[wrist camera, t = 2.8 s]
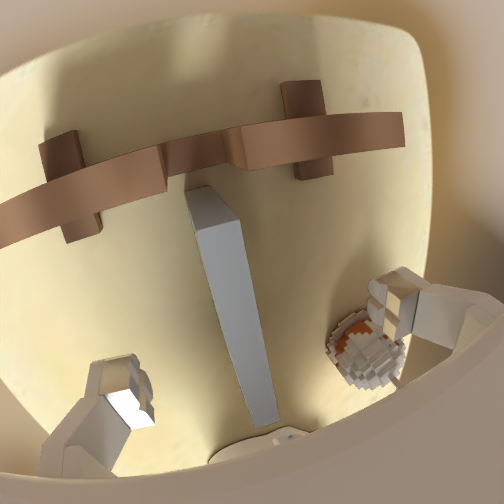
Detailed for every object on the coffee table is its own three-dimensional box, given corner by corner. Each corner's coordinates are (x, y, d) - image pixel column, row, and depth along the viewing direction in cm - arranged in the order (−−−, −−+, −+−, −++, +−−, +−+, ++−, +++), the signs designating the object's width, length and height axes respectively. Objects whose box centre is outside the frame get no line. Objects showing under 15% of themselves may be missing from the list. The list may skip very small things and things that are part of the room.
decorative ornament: (384, 332, 35) (459, 406, 21) (336, 369, 35) (400, 456, 21) (370, 294, 31) (463, 375, 18) (314, 336, 31) (391, 438, 18)
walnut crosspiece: (313, 81, 21) (394, 61, 12) (326, 172, 24) (407, 197, 15) (44, 144, 17) (-28, 153, 8) (71, 238, 20) (22, 302, 12)
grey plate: (184, 192, 22) (196, 230, 13) (209, 185, 22) (239, 219, 13) (227, 350, 28) (255, 429, 20) (246, 344, 29) (280, 420, 20)
